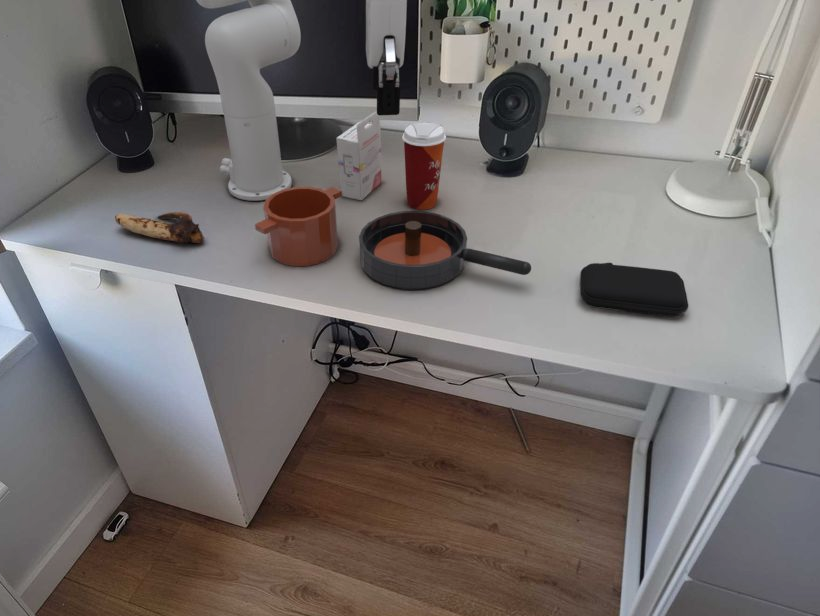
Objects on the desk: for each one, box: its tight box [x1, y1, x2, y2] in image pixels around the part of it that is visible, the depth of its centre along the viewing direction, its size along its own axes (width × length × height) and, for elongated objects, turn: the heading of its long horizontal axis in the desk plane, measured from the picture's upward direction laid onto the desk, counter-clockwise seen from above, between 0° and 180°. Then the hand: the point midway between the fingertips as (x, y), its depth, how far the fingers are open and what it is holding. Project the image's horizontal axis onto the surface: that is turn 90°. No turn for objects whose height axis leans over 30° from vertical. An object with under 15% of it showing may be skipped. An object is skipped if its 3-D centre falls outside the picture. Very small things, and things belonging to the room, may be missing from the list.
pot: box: [254, 186, 343, 267], centre depth 108 cm, size 12×17×8 cm
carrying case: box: [579, 262, 689, 317], centre depth 96 cm, size 11×3×15 cm
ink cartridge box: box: [335, 110, 382, 201], centre depth 121 cm, size 9×5×15 cm, turn 150°
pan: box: [358, 210, 468, 290], centre depth 105 cm, size 17×17×4 cm
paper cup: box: [401, 122, 447, 211], centre depth 116 cm, size 8×8×14 cm
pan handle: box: [462, 247, 532, 276], centre depth 98 cm, size 11×2×2 cm, turn 62°
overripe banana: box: [114, 211, 205, 244], centre depth 115 cm, size 9×5×18 cm
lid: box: [374, 221, 451, 265], centre depth 104 cm, size 13×13×6 cm
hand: (385, 101), depth 95 cm, fingers open, 9 cm apart
